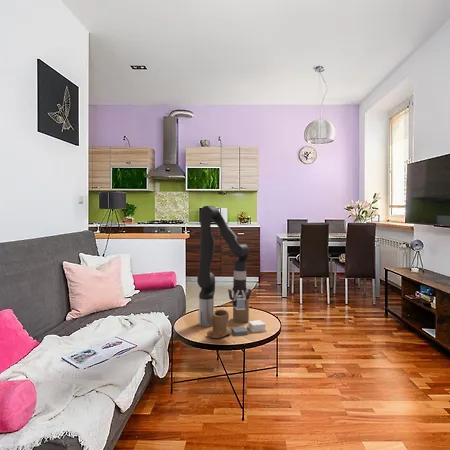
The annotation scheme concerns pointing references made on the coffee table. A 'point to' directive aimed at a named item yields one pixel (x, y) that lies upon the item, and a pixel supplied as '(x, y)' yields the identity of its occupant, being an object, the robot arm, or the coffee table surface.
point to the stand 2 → (256, 326)
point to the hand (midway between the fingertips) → (239, 306)
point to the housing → (240, 302)
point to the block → (241, 312)
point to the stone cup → (219, 324)
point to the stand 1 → (239, 331)
